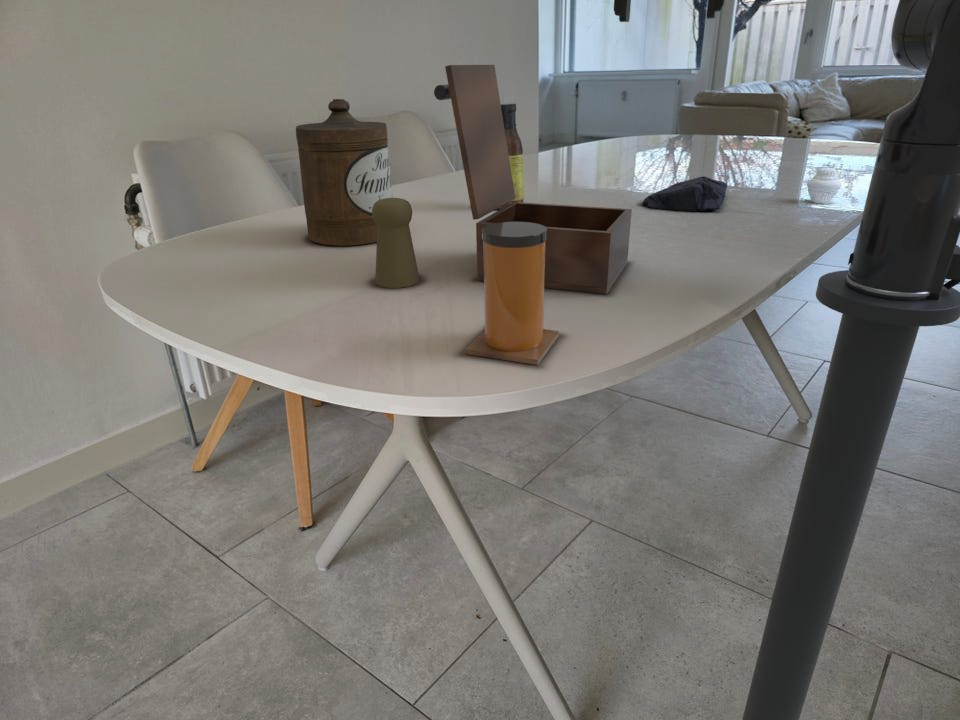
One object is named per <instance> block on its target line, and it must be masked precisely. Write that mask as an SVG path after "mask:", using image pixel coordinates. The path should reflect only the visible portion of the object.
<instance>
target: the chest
mask: <svg viewBox="0 0 960 720" xmlns="http://www.w3.org/2000/svg"><path fill="white" fill-rule="evenodd" d="M632 210H633V209H632V208H621V207H620V208H619V207H603V206H602V207H601V206H588V205H587V206H586V205H570V204H556V203H555V204H552V203H539V202H538V203H536V202H524V203H521V202H512V203H511V204H509V205H507V206H506V207H504V208H502V209H498V210H497V211H495V212H494V213H492V214H490V215H488V216H486V217H484V218H483V219H480V220H479V221H477V222H476V223H475V235H476V236H475V237H476V241H475V242H476V279H477V281H478V282H479V281H481V282H484V245H483V239H482V229H483V228H484V227H485V226H488V225H491V224H495V223H501V222H530V223H536V224H540V225H543V226H545V227H546V228H547V240H546V258H545V289H554V290H556V289H557V290H563V291H573V292H581V293H590V294H600V295H608V292H609V291H610V290H611V288H612V286H613V285H614V284H615V282H616V281H617V279H618V278H619V276H620V275H621V273H622V272H623V270H624V268H625V267H626V265H627V264H628V260H629V259H628V257H629V246H630V235H631V234H630V233H631V223H632Z"/></svg>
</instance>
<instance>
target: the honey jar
mask: <svg viewBox="0 0 960 720" xmlns="http://www.w3.org/2000/svg"><path fill="white" fill-rule="evenodd" d="M482 239H483V245H484V281H483V288H484V289H483V292H484V293H483V297H484V298H483V299H484V301H483V302H484V303H483V304H484V330H485V341H486V343H487V344H488V345H489V346H491V347H493V348H496V349H499V350H504V351H524V350H530V349H533V348H536V347H538V346H539V345H541V344H542V342H543V331H544V329H545V327H544V324H545V291H546V290H545V289H546V288H545V258H546V240H547V228H546V227H545V226H543V225H540V224H536V223H530V222H501V223H495V224H491V225H488V226H485V227H484V228H483V229H482Z"/></svg>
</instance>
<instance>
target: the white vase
mask: <svg viewBox="0 0 960 720" xmlns="http://www.w3.org/2000/svg"><path fill="white" fill-rule="evenodd" d="M806 187H807V193H808V196H809V198H810V199H809V200H810V202H811V203H815V204H822V205H823V204H829V203H831V201H832V200H833V199H834V197H836V195H837V194H838V193H839V190H840V189H841V188H842V182H841V180H840V179H839V177H838V176H837V171H836V169H835V168H832V167H829V166H827V167H822V168H819V169H818V170H817V171H816V174H814V175H813V177H812V178H811V179H809V180H808V181H807V183H806Z"/></svg>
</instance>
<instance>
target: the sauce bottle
mask: <svg viewBox="0 0 960 720" xmlns="http://www.w3.org/2000/svg"><path fill="white" fill-rule="evenodd" d="M500 104H501V110H502V116H503V123H504V129H505V135H506V142H507V148H508V154H509V161H510V167H511V174H512V180H513V186H514V193H515V199H514V200H512V201H510V202H508V203H506V204H505V205H503V206H501V207H499V208H497V209H496V210H500V209H502V208H504V207H506V206H507V205H509V204H511V203H512V202H521V203H525V202H524V200H525V177H524V149H523V144H522V139H521V138H520V136H519V133H518V129H517V120H516V119H517V118H516V115H517V114H516V112H517V103H516V102H503V103H501V102H500Z"/></svg>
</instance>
